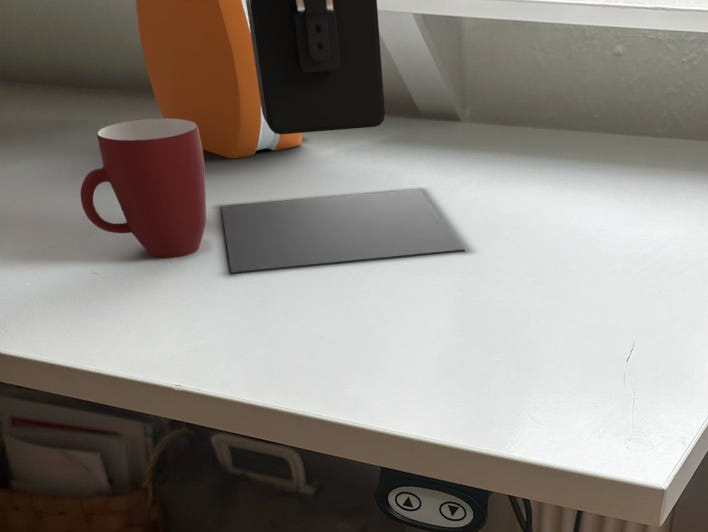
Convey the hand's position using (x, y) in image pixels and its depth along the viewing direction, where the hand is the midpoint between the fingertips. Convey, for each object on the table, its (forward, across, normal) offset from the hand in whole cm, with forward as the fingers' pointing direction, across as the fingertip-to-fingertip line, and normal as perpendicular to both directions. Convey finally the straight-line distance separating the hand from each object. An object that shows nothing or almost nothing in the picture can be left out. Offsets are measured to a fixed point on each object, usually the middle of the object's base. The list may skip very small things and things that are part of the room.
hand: (317, 62), depth 79 cm
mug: (+14, +2, -16) cm, 21 cm away
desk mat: (+14, 0, 0) cm, 14 cm away
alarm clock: (+14, -40, -7) cm, 43 cm away
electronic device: (+5, 0, 0) cm, 5 cm away
